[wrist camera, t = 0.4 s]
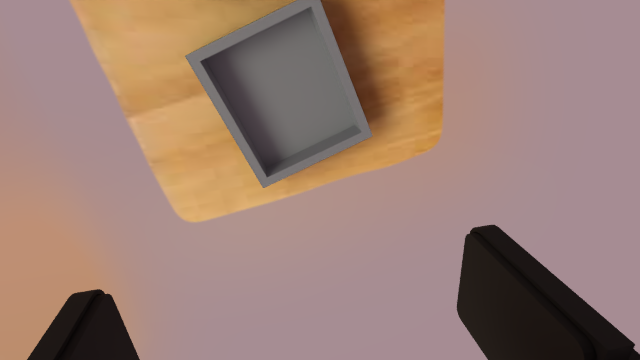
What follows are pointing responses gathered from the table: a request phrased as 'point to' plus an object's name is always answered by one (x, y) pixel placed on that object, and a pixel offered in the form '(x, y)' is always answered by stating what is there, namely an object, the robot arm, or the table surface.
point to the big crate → (283, 90)
